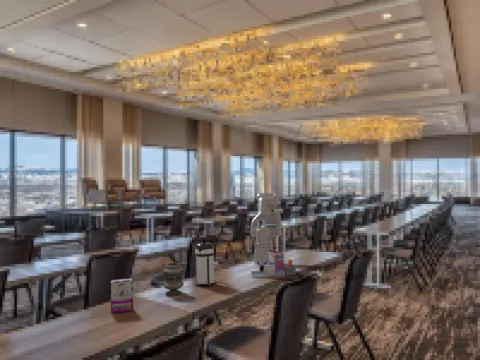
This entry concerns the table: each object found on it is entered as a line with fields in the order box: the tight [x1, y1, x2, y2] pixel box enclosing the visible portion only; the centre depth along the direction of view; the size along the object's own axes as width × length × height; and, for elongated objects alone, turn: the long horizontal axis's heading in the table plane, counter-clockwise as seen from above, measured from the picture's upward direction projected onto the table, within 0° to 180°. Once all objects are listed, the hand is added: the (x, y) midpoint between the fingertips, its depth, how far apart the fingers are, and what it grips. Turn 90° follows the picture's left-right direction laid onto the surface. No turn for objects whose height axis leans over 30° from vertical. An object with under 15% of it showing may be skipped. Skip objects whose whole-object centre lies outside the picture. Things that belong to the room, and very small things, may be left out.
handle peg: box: [287, 259, 293, 266], centre depth 286 cm, size 3×3×10 cm
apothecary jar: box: [162, 262, 185, 297], centre depth 240 cm, size 12×12×18 cm
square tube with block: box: [284, 264, 297, 276], centre depth 288 cm, size 12×7×6 cm, turn 2°
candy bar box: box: [109, 277, 134, 314], centre depth 208 cm, size 11×5×16 cm, turn 105°
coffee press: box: [193, 238, 217, 288], centre depth 262 cm, size 17×16×30 cm
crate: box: [264, 265, 275, 273], centre depth 282 cm, size 7×6×7 cm
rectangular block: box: [250, 269, 286, 278], centre depth 282 cm, size 10×23×3 cm, turn 92°
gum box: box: [261, 249, 285, 270], centre depth 303 cm, size 24×8×14 cm, turn 25°
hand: (261, 271), depth 282 cm, fingers closed
